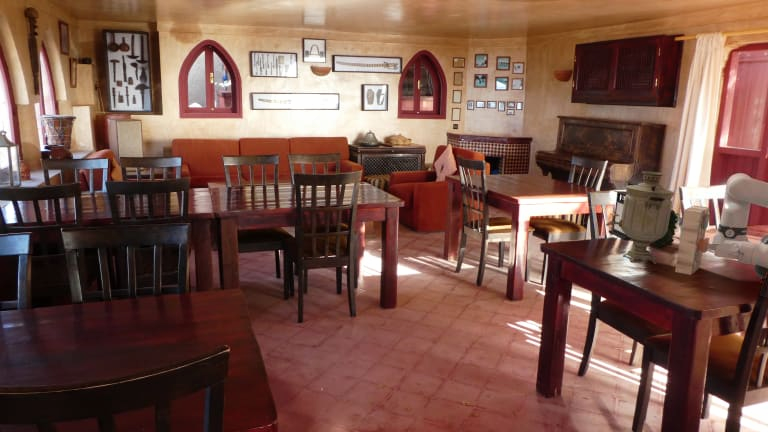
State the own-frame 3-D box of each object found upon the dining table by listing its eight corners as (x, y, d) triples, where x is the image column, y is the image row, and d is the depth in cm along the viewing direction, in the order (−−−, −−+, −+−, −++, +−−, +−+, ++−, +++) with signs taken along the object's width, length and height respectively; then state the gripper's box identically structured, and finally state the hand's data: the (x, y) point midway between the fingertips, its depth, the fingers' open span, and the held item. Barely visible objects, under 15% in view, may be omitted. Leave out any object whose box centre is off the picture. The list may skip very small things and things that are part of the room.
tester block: (684, 264, 252) (694, 205, 246) (699, 267, 248) (709, 207, 242) (675, 271, 240) (684, 209, 234) (690, 275, 236) (700, 211, 230)
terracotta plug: (683, 246, 246) (685, 234, 245) (707, 250, 240) (709, 238, 239) (680, 248, 242) (682, 236, 241) (704, 253, 236) (706, 240, 235)
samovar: (605, 247, 277) (615, 166, 269) (664, 255, 266) (676, 171, 258) (599, 261, 251) (610, 172, 243) (664, 271, 240) (678, 178, 232)
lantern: (638, 233, 313) (646, 170, 306) (655, 240, 297) (664, 174, 290) (608, 232, 312) (616, 169, 305) (623, 239, 295) (632, 173, 288)
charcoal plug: (683, 223, 245) (685, 211, 244) (707, 227, 239) (709, 214, 238) (680, 225, 241) (682, 212, 240) (704, 229, 235) (706, 216, 234)
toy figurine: (659, 243, 298) (642, 246, 280) (665, 208, 295) (649, 209, 277) (678, 247, 291) (662, 250, 273) (685, 211, 289) (669, 212, 271)
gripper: (739, 264, 222) (700, 257, 230) (748, 255, 237) (711, 248, 246) (741, 249, 220) (702, 242, 229) (750, 240, 235) (713, 234, 244)
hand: (707, 245), depth 237 cm, fingers closed
